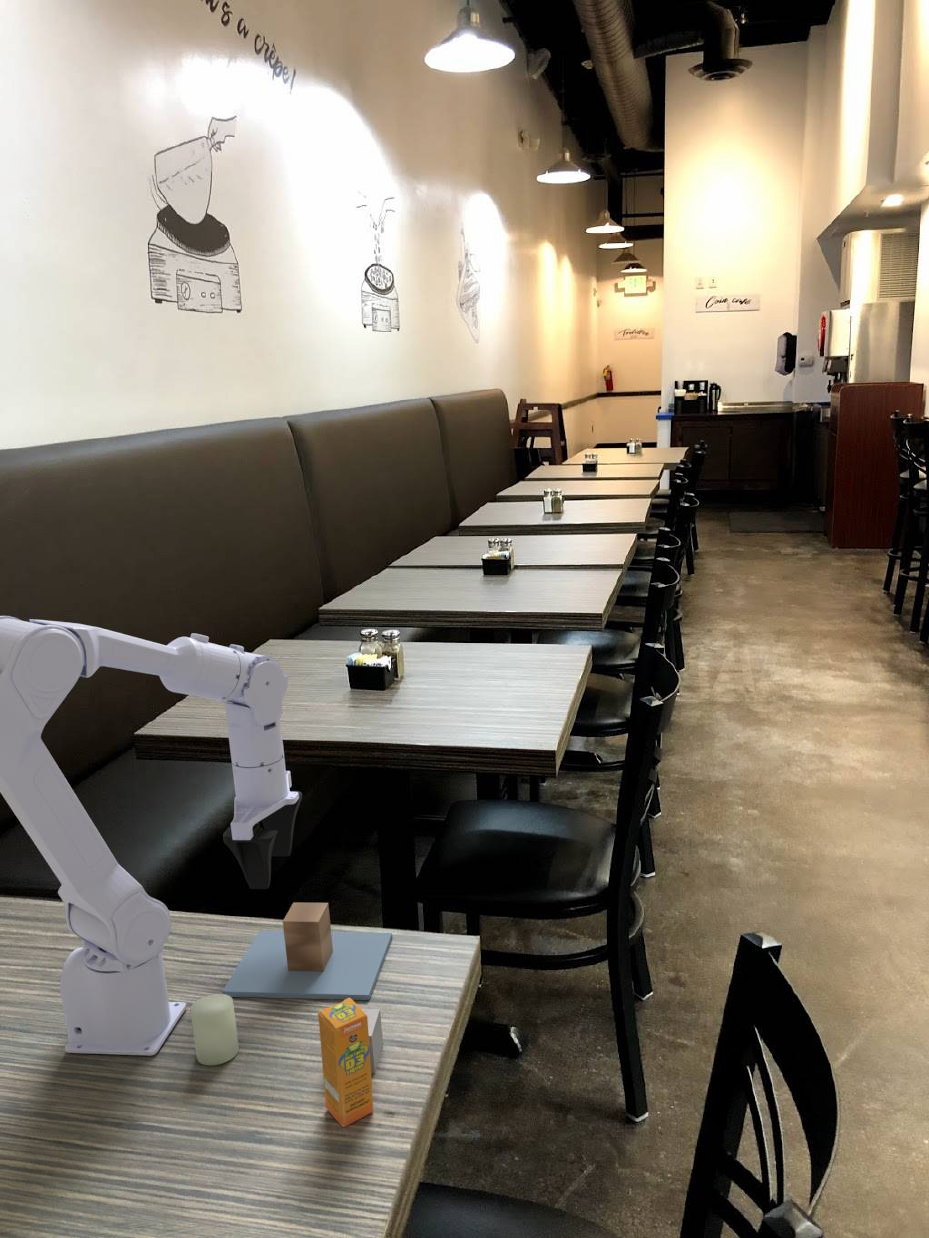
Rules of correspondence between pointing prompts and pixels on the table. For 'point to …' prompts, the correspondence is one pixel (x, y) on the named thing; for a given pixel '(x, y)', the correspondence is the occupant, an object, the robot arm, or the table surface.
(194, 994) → the table surface
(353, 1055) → the supplement box
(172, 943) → the table surface
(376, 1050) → the grey cube
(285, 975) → the slate mat
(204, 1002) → the sage cylinder
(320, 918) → the walnut block
